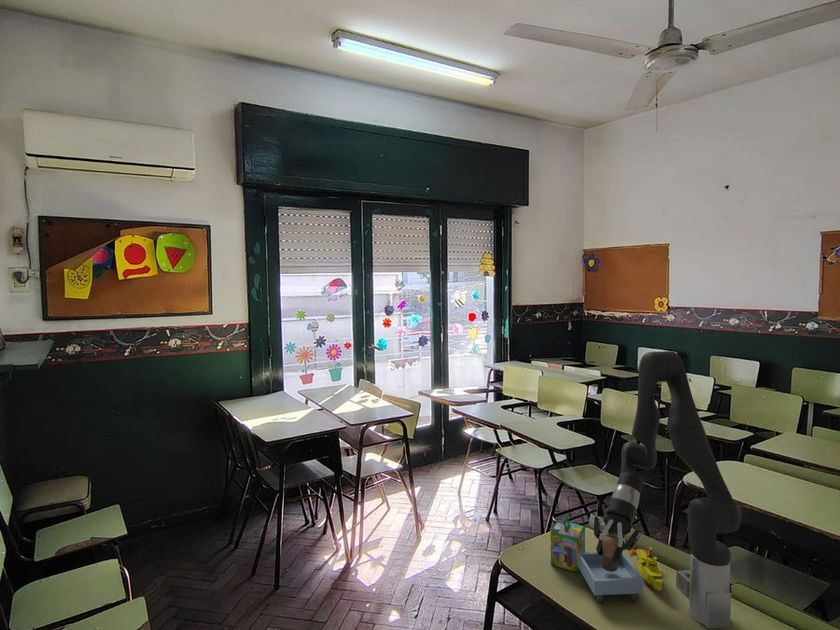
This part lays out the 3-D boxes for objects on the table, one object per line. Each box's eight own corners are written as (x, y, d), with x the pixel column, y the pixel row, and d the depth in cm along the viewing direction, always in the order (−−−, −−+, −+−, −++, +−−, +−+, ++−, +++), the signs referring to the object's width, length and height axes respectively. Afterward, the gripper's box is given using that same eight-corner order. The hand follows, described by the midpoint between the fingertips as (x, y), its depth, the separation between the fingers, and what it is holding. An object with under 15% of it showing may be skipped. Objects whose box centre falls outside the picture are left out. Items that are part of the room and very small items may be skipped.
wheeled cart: (643, 603, 141) (643, 579, 140) (594, 605, 140) (594, 581, 140) (621, 573, 155) (622, 550, 154) (577, 575, 154) (577, 552, 154)
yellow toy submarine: (649, 561, 160) (649, 532, 159) (671, 598, 143) (672, 565, 142) (628, 561, 161) (629, 531, 160) (648, 597, 143) (649, 565, 142)
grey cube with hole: (676, 586, 148) (676, 570, 147) (692, 585, 148) (692, 569, 148) (686, 597, 143) (687, 581, 142) (703, 596, 143) (703, 579, 143)
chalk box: (578, 574, 155) (579, 528, 153) (549, 565, 160) (549, 521, 158) (586, 559, 163) (586, 515, 161) (558, 551, 168) (558, 509, 166)
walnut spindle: (619, 571, 145) (620, 542, 145) (605, 572, 145) (605, 542, 144) (613, 562, 150) (614, 534, 149) (599, 563, 150) (600, 535, 149)
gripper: (597, 490, 156) (580, 543, 148) (645, 505, 146) (628, 562, 139) (604, 501, 160) (587, 553, 153) (651, 515, 150) (635, 571, 143)
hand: (607, 557), depth 146 cm, fingers closed on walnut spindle, 4 cm apart
